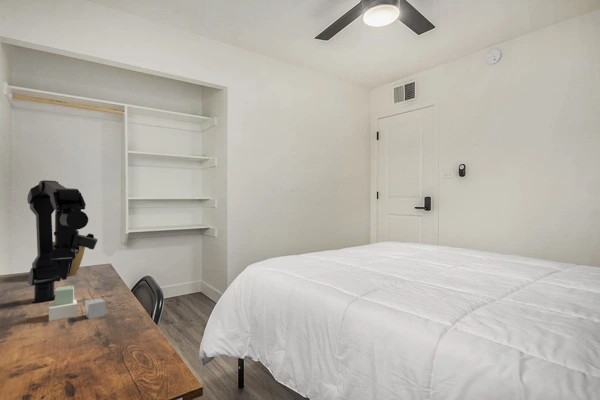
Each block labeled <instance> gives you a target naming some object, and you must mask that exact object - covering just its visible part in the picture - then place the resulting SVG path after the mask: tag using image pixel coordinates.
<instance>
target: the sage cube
mask: <svg viewBox="0 0 600 400" xmlns="http://www.w3.org/2000/svg"><path fill="white" fill-rule="evenodd" d="M54 295H55V300H54V302H55V306H56V305H63V304H71V303H73V301H74V299H75V285H68V286H67V285H66V286H59V287H58V286H57V287H56V288H55V289H54Z"/></svg>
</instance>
